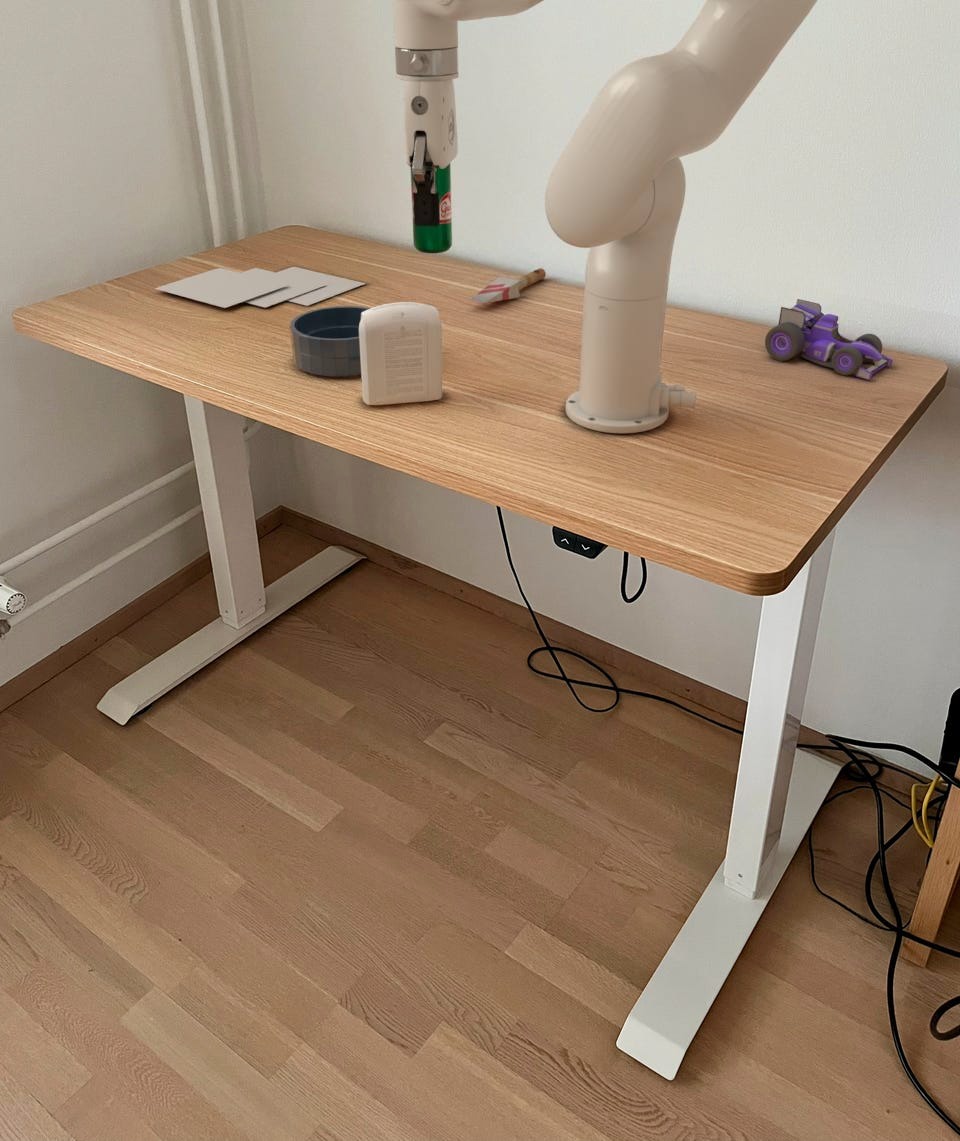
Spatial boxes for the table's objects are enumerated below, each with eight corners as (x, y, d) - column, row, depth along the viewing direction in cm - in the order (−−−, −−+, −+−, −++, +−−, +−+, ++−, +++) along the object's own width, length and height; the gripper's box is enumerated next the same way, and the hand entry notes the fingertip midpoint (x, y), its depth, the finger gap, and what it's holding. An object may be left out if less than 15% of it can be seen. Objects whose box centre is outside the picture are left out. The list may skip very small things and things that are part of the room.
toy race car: (864, 384, 133) (875, 336, 129) (762, 356, 142) (769, 310, 138) (895, 364, 139) (906, 317, 135) (795, 338, 147) (802, 294, 144)
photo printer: (439, 388, 132) (437, 294, 126) (446, 401, 129) (444, 305, 122) (360, 396, 130) (354, 301, 124) (365, 409, 127) (358, 312, 120)
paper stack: (259, 258, 182) (259, 254, 181) (365, 283, 169) (365, 279, 169) (154, 292, 166) (154, 288, 166) (263, 322, 154) (262, 318, 153)
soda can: (447, 255, 131) (444, 156, 125) (409, 253, 132) (405, 155, 126) (456, 245, 136) (454, 149, 129) (419, 243, 136) (415, 147, 130)
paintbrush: (466, 289, 157) (532, 263, 171) (466, 307, 158) (531, 280, 173) (487, 293, 155) (552, 267, 170) (487, 311, 157) (551, 283, 171)
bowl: (402, 346, 146) (401, 308, 143) (380, 382, 134) (377, 342, 131) (311, 341, 147) (307, 303, 144) (281, 376, 136) (276, 337, 133)
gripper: (443, 73, 114) (447, 238, 124) (470, 56, 129) (472, 205, 138) (378, 72, 116) (387, 236, 125) (412, 55, 130) (418, 203, 139)
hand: (432, 218), depth 132 cm, fingers closed on soda can, 5 cm apart
